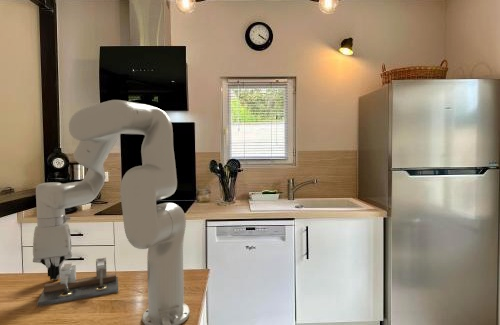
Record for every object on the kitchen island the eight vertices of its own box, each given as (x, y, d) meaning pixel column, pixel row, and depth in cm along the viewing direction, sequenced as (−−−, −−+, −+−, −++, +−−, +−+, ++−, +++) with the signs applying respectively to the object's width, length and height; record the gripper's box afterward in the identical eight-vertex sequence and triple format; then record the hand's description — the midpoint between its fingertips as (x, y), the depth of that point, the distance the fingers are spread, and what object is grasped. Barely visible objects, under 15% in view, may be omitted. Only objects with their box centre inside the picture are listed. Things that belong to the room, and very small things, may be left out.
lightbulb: (54, 275, 114) (52, 246, 113) (69, 276, 113) (68, 246, 113) (41, 283, 108) (39, 252, 107) (57, 284, 107) (56, 252, 106)
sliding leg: (73, 291, 98) (73, 269, 98) (59, 293, 97) (58, 271, 96) (76, 282, 105) (75, 261, 104) (62, 284, 103) (61, 263, 103)
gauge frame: (116, 285, 103) (115, 263, 103) (41, 298, 95) (40, 274, 94) (116, 277, 110) (115, 256, 109) (45, 288, 101) (44, 265, 101)
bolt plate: (118, 292, 101) (118, 288, 101) (37, 306, 92) (37, 302, 92) (117, 279, 110) (117, 276, 110) (44, 292, 101) (44, 287, 101)
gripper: (79, 216, 106) (81, 269, 107) (26, 221, 100) (28, 277, 101) (77, 221, 99) (79, 278, 100) (19, 226, 93) (22, 287, 94)
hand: (53, 277), depth 100 cm, fingers closed
